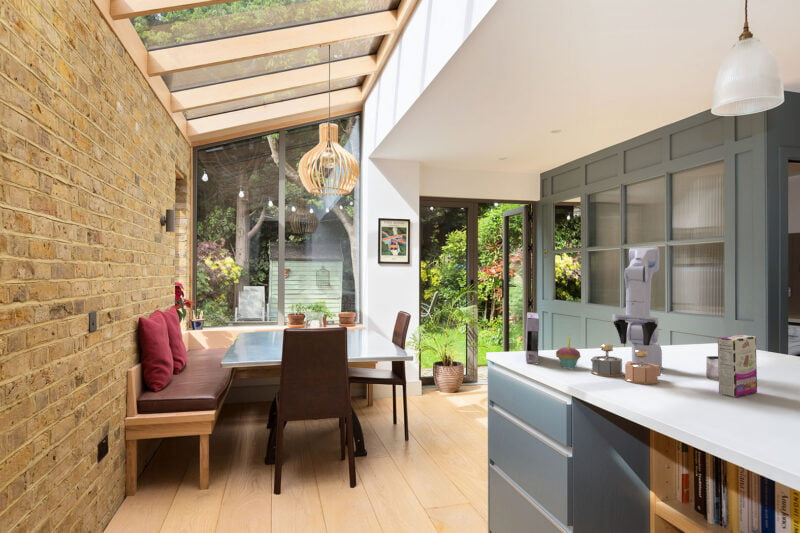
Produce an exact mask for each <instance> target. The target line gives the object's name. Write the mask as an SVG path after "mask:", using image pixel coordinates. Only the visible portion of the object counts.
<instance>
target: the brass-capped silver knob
mask: <svg viewBox="0 0 800 533" xmlns="http://www.w3.org/2000/svg"><path fill="white" fill-rule="evenodd" d="M601 351H603V352H605V356H606V358H599V359H600V360H615V359H613V358H608V356H609V352H613V351H614V347H613V344H607V343H603V344H601Z"/></svg>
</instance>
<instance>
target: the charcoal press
mask: <svg viewBox="0 0 800 533" xmlns="http://www.w3.org/2000/svg"><path fill="white" fill-rule="evenodd" d="M599 358H606V355H597V356H596V355H595V356H592V358H591V359H590V362H592V363H591V366H592V368H591V369H590V373H591V375H596V376H598V377H599V376H600V377H608V378H616V377H617V378H618V377H624V375H625V372H624V371H623V359H622V358H621V357H617V356H609V355H608V358H613V359H615V360H600V359H599Z"/></svg>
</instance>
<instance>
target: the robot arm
mask: <svg viewBox="0 0 800 533" xmlns="http://www.w3.org/2000/svg"><path fill="white" fill-rule="evenodd" d="M660 253H661V252H660V248H659V247H658V246H651V247H645V246H644V247H630V248H629V250H628V262H629V265H628V266H627V267H625V268H624V272H623V273H624V284H625V285H624V287H625V294H626V295H625V314H617V313H616V314H614V313H613V314H612V315H611V316H612V317H611V318H612V319H611V320H612V321H613V325H614V327H615V329H616V331H617V333H618V338H619V342H620V344H621V345H626V344H627V340H628V341H629V342H630V343H631V361H632V362H640V357H637V356H635V350H647V351H648V357H643V362H644V363H651V364H655V365H660V370H661V369H662V370H663V369H664V367H663V365H662V364H663V352H662V347H661V345H660V344H659V343H657V342H659V317H655V316H654V317H653V316H651V300H652V299H651V296H652V278H653V276H654V273H656V272H658V271H659V269H660V259H661V258H660V255H661V254H660Z"/></svg>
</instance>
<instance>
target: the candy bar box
mask: <svg viewBox="0 0 800 533" xmlns="http://www.w3.org/2000/svg"><path fill="white" fill-rule="evenodd" d="M717 357H718V358H717V361H718V394H719V395H721V394H722V396H726V395H727V397H730V398H739V397H744V396H748V395H751V394H756V393H758V374H757V373H758V372H757V370H758V367H757V360H758V359H757V336H754V335H747V334H746V335H745V334H737V335H728V336H722V337H718V338H717Z"/></svg>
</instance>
